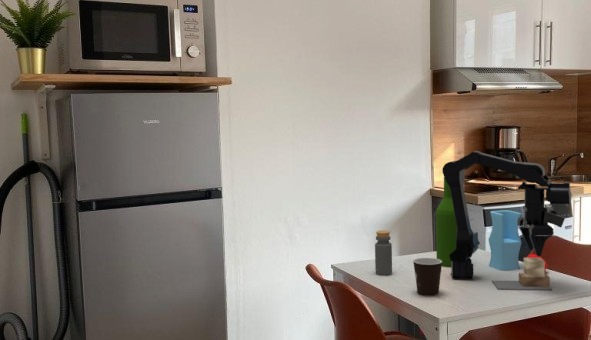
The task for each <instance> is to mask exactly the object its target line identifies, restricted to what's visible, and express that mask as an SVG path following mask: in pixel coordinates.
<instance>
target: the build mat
mask: <svg viewBox="0 0 591 340" xmlns="http://www.w3.org/2000/svg"><path fill="white" fill-rule="evenodd" d="M491 283H492V284H493V285H494V287H495V288H496V289H497V291H499V290H500V291H501V290H502V291H503V290H504V291H553V288H552V287H551V286H550V287H527V286H522V285H521V284H520V283H519V280H493V279H492V280H491Z"/></svg>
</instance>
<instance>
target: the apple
mask: <svg viewBox="0 0 591 340" xmlns="http://www.w3.org/2000/svg"><path fill="white" fill-rule="evenodd" d="M525 258H541V259H542V260H543V261H545V271H546V270H547V268H548V264H547V262H546V260H545V259H543V257H541V256H537V255H536V253H534V254H533V253H530V254H527V256H526V257H525Z"/></svg>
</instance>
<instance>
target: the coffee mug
mask: <svg viewBox="0 0 591 340" xmlns="http://www.w3.org/2000/svg"><path fill="white" fill-rule="evenodd" d="M412 263H413V268H414V276H415V277H414V278H415V284H416V292H417V294H418V295H420V296H425V297H434V296H438V295H439V293H440V285H441V284H440V283H441V275H442V267H443V266H442V261H441V260H439V259H437V258H434V257H420V258H419V257H418V258H415V259H413V261H412Z"/></svg>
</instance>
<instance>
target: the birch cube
mask: <svg viewBox="0 0 591 340" xmlns="http://www.w3.org/2000/svg"><path fill="white" fill-rule="evenodd" d="M541 258H542V257H541ZM541 258H526V257H523V273H524V274H525V275H526V276H527V277H545V274H546V273H545V272H546V270H545V262H546V260H545V261H543V260H542V259H541Z"/></svg>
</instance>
